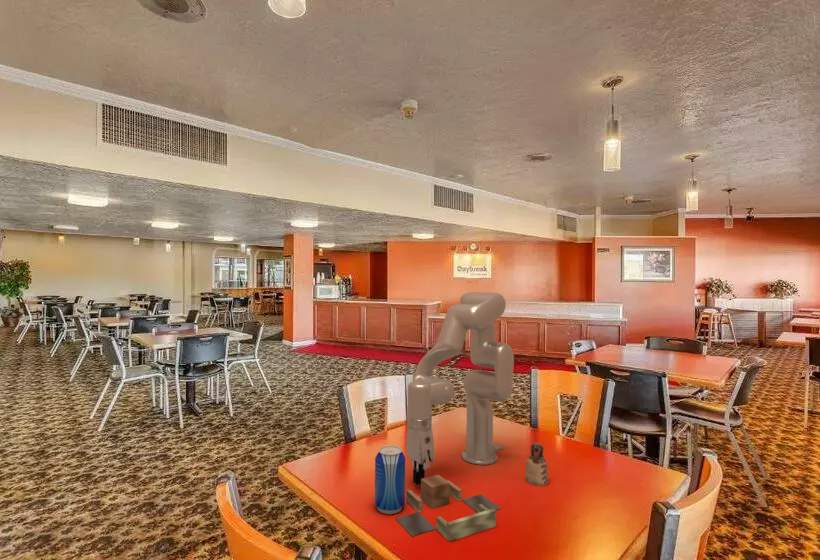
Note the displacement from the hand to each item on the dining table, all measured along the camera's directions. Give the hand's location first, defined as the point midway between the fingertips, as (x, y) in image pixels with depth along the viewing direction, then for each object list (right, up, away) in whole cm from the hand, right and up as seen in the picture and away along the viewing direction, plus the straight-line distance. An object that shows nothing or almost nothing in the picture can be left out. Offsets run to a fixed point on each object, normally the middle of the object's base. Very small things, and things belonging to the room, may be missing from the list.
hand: (418, 482), depth 129 cm
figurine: (+38, -2, +6) cm, 38 cm away
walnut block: (+5, -2, -8) cm, 9 cm away
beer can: (-8, -2, -12) cm, 15 cm away
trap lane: (+8, -1, -15) cm, 17 cm away
